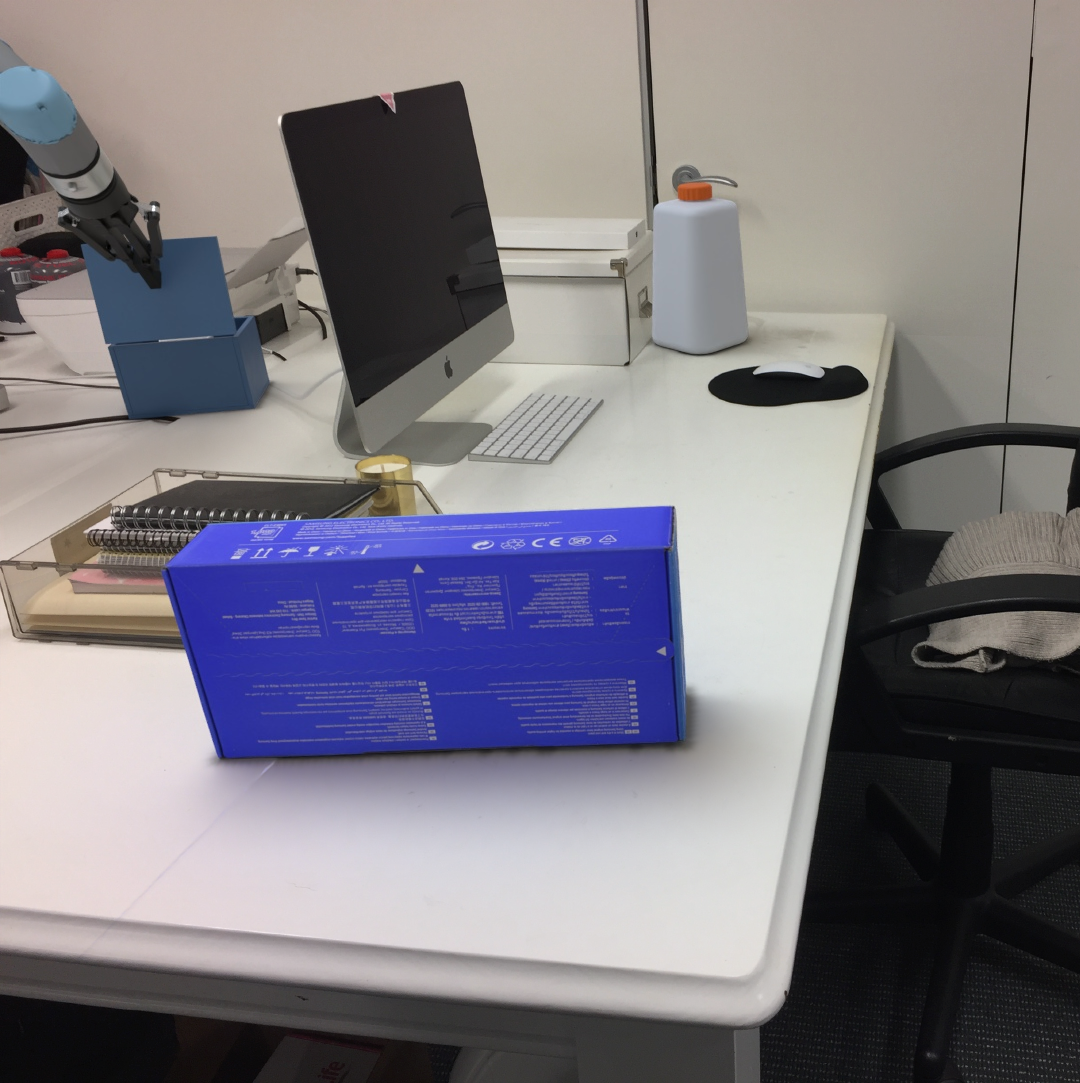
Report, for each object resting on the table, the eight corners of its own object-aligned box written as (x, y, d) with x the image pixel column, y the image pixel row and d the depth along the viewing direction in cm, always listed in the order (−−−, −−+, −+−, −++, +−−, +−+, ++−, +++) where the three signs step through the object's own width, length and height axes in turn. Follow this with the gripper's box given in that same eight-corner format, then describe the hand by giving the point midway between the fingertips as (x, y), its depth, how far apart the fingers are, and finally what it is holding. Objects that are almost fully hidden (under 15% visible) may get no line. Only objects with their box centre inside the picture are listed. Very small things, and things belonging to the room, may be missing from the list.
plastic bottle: (700, 327, 202) (694, 176, 190) (758, 340, 193) (756, 182, 180) (643, 344, 193) (633, 186, 180) (701, 359, 183) (694, 193, 171)
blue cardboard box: (687, 689, 93) (678, 502, 85) (686, 748, 85) (675, 549, 77) (254, 702, 93) (203, 516, 85) (215, 762, 85) (154, 564, 77)
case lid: (82, 244, 152) (80, 244, 151) (217, 236, 155) (215, 236, 155) (107, 343, 157) (105, 344, 156) (237, 333, 160) (235, 334, 159)
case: (153, 393, 174) (133, 324, 169) (270, 383, 177) (254, 315, 172) (129, 420, 162) (107, 347, 157) (254, 409, 165) (237, 336, 160)
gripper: (26, 205, 130) (108, 306, 152) (138, 199, 132) (203, 299, 154) (29, 155, 132) (109, 262, 154) (139, 150, 134) (202, 256, 156)
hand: (156, 280), depth 154 cm, fingers closed
